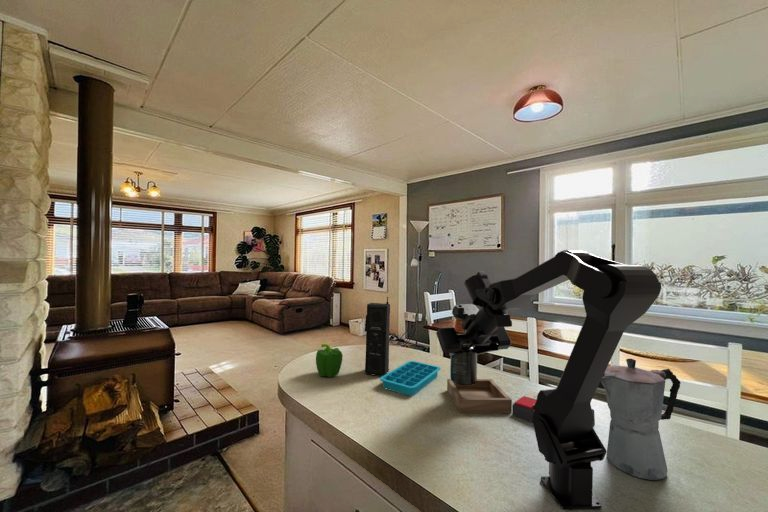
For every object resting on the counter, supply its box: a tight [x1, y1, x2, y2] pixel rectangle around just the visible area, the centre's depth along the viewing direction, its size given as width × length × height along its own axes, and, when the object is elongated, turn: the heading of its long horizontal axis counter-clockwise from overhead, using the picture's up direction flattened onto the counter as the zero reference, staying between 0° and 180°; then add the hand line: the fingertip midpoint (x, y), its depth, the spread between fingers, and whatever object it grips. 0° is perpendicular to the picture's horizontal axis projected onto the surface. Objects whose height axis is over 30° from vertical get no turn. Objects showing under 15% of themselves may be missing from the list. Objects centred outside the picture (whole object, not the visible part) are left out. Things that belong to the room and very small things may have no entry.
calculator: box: [512, 390, 596, 428], centre depth 75 cm, size 11×4×15 cm
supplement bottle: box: [449, 333, 478, 386], centre depth 83 cm, size 7×7×12 cm
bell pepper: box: [315, 343, 343, 378], centre depth 100 cm, size 8×8×10 cm
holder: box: [446, 378, 513, 414], centre depth 84 cm, size 13×13×3 cm
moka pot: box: [600, 358, 681, 481], centre depth 59 cm, size 10×15×20 cm, turn 94°
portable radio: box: [364, 296, 391, 377], centre depth 103 cm, size 8×6×25 cm
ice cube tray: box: [379, 360, 442, 396], centre depth 96 cm, size 12×20×3 cm, turn 147°
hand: (461, 354), depth 84 cm, fingers closed on supplement bottle, 6 cm apart
